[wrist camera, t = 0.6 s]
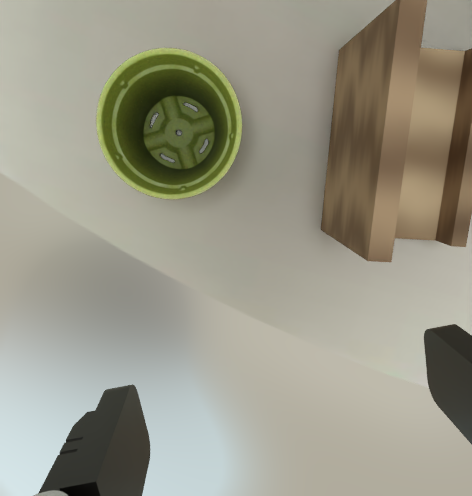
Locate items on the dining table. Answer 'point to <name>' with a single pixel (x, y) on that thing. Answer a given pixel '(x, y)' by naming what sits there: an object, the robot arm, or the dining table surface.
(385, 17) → the wooden holder
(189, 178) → the plant pot
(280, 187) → the dining table surface
